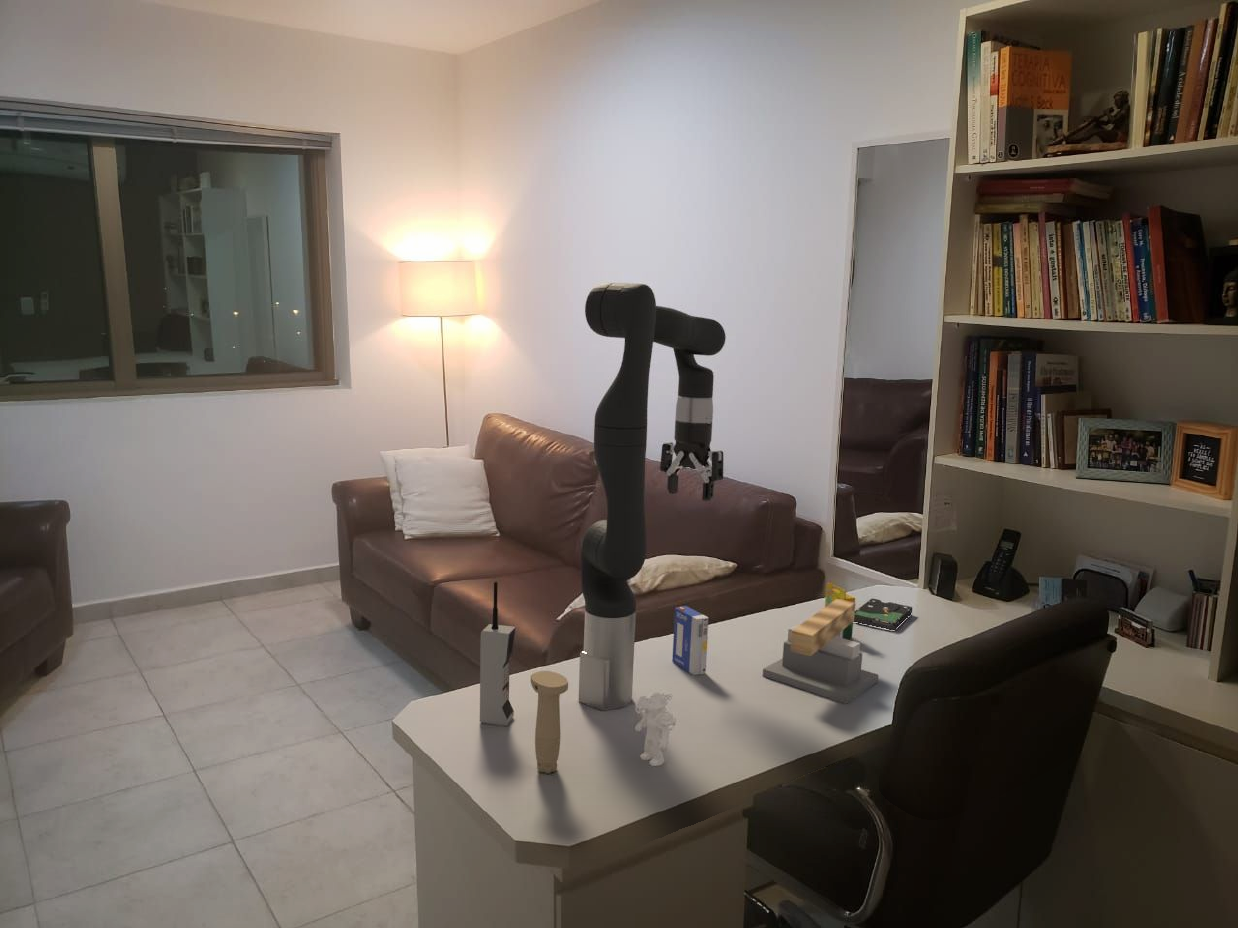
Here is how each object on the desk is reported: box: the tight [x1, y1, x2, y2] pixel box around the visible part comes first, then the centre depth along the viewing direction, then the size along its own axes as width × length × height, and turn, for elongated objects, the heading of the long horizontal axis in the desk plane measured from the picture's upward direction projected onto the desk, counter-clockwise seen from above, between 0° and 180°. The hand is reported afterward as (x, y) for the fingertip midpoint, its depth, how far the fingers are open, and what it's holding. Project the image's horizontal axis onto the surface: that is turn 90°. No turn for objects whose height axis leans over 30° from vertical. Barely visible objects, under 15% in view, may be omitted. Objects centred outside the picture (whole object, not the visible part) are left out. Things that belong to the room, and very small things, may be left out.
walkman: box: [672, 605, 709, 676], centre depth 185 cm, size 8×3×12 cm, turn 31°
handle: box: [530, 670, 569, 774], centre depth 143 cm, size 5×6×15 cm
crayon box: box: [824, 581, 856, 641], centre depth 207 cm, size 7×3×12 cm, turn 22°
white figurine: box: [634, 692, 677, 767], centre depth 148 cm, size 9×4×12 cm, turn 33°
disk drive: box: [854, 597, 913, 631], centre depth 220 cm, size 10×3×15 cm
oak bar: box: [790, 599, 856, 656], centre depth 182 cm, size 24×4×4 cm, turn 147°
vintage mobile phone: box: [479, 581, 516, 727], centre depth 158 cm, size 4×5×25 cm
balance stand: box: [762, 624, 879, 704], centre depth 183 cm, size 14×18×9 cm
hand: (689, 496), depth 190 cm, fingers open, 8 cm apart
